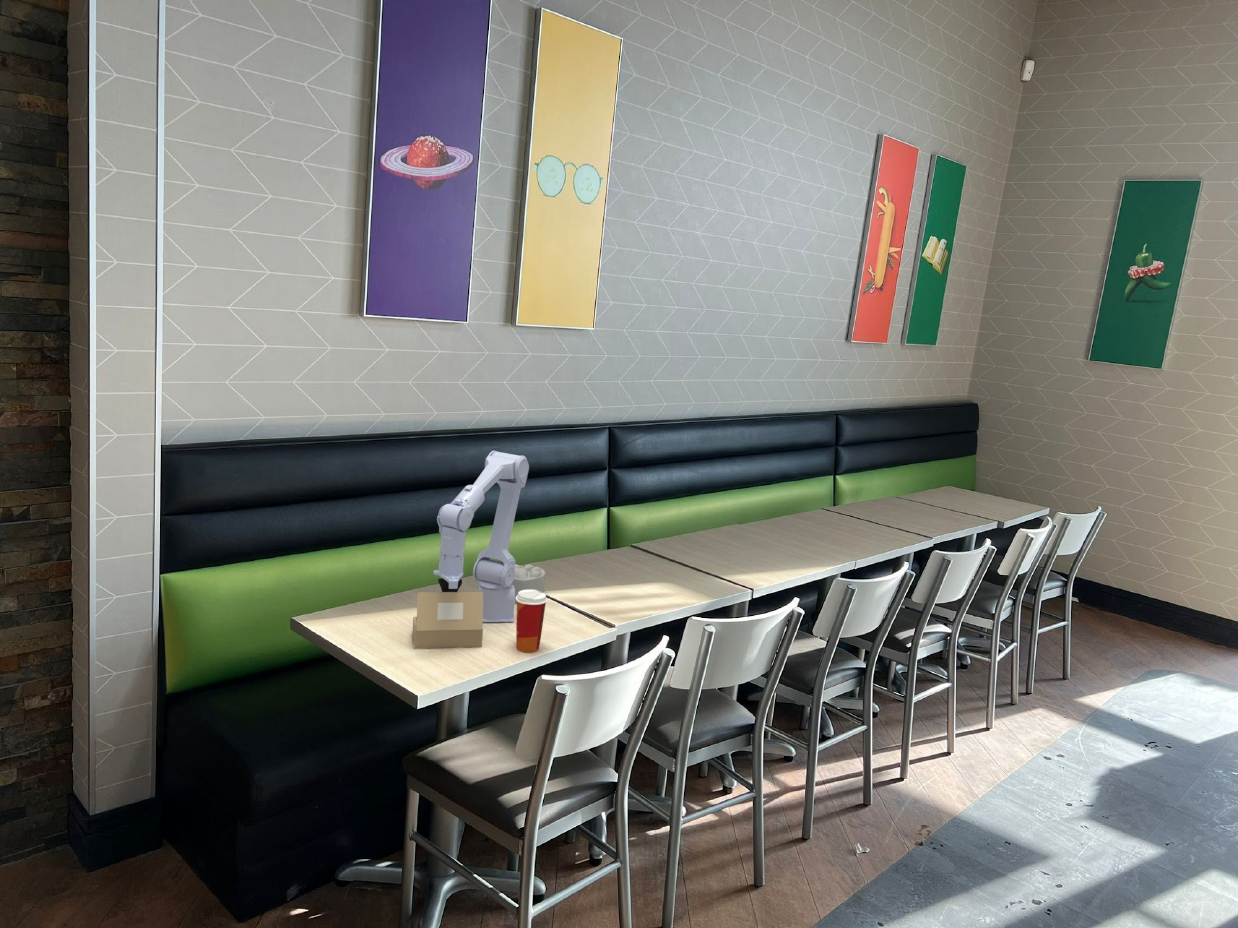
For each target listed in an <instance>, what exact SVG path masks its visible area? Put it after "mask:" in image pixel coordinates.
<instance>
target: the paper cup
mask: <svg viewBox="0 0 1238 928" xmlns="http://www.w3.org/2000/svg"><path fill="white" fill-rule="evenodd" d="M516 600H517V604H516V625H515V626H516V627H515V628H516V630H515V631H516V634H515V639H516V641H515V642H516V643H515V645H516V646H515V647H516V649H517V651H519V652H522V653H525V654H526V653H529V654H530V653H535V652H536V653H537V652H538V651H539V649H540V645H541V639H542V632H543V625H544V619H545V618H544V616H545V610H546V603H547V602H548V598H547V594H546V593H545V592H544V593H543V592H540V591H538V590H522V591H519V592H518V595H517V596H516Z"/></svg>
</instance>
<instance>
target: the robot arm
mask: <svg viewBox="0 0 1238 928" xmlns="http://www.w3.org/2000/svg"><path fill="white" fill-rule="evenodd" d="M529 470H530V465H529V461H528V460H527V457H526V456H525V455H518V454H512V453H506V452H501V451H497V450H492V451H491V452H489V454H487V457H485V461H484V469H483V470H482V472H481V473H480V475H479V476H478V477H477V479H476V480H475V481H474V483H473V484H468V485H466V486H464V488H463V489H462V490H461V491H460V492H459V493H458V495H457V496H456V497H455V498H454V499H453V501H451V502H450V503H446V504H444V505H442V506H441V507H440V509H439V510H438V514H437V516H436V521H437V522H436V523H437V524H438V530H439V531H438V533H439V534H440V546H439V547H440V550H439V562H438V569H434V570H433V575H434V576H438V577H440V578H437V581H438V584H439V587H440V589H441V592H459V589H460V587H461V586H462V584H463V579H462V578H463V576H464V559H465V546H466V532H467V530H468V529H469V528H470V526H471V524H472V520H473V518H474V516H475V512H476V511H477V510H478V508H479V507H481V505H482V504H483V503H484V501H485V494H486V492H488V491H489V490H490V489H491V488H492V487H493V486H494V485H495V484H498V486H499V487H500V492H499V496H498V502H497V506H496V510H495V511H496V512H495V516H494V521H493V524H492V529H491V533H490V535H491V536H490V539H489V544H488V547H486V548H484V549H483V550H481V551H480V552H478V554H477V559H476V561H475V563H474V565H473V569H472V575H473V576H472V577H473V578H474V580H475V581H476V585H478V592H483V623H511V622H512V623H513V622H514V619H515V618H514V615H515V605H516V604H515V589H514V586H513V585H511V583H512V582H513V580H514V576H515V564H516V559H515V558H514V556H513V555H512V554H511V553H510V551H509V547H510V546H509V545H510V541H511V538H512V533H513V527H514V523H515V517H516V514H517V513H516V512H517V509H518V504H519V499H520V494H521V491H522V490H521V489H523V488H525V486H526V482H527V479H528V474H529Z"/></svg>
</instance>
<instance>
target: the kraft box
mask: <svg viewBox="0 0 1238 928" xmlns="http://www.w3.org/2000/svg"><path fill="white" fill-rule="evenodd" d="M416 629H417V616H413V617H412V631H411V632H412V633H411V634H412V641H413V646H414V649H444V648H446V649H447V648H449V649H450V648H451V649H452V648H482V647H483V635H484V633H483V632H484V628H483V627H482V630H428V631H416Z"/></svg>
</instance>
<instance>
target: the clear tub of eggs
mask: <svg viewBox="0 0 1238 928" xmlns="http://www.w3.org/2000/svg"><path fill="white" fill-rule="evenodd" d="M545 581H546V571H545V570H544V569H543V568H542V567H539V566H534V565H532V564H525V565H524V566H522V565H519V564H517V563H515V576H514V580H513V582H512V583H511V585H513V586H514V589H515V604H514V605H517V600H516V596H517V595H518V592H519V591H522V590H538V591H540V592H543V593H545V585H546V584H545V583H546V582H545Z"/></svg>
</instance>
